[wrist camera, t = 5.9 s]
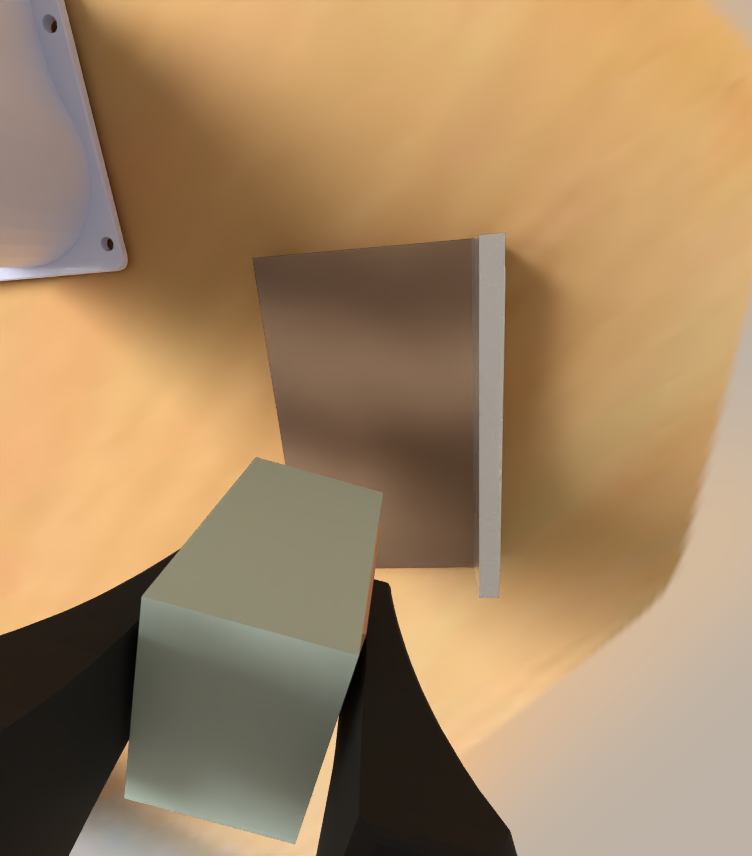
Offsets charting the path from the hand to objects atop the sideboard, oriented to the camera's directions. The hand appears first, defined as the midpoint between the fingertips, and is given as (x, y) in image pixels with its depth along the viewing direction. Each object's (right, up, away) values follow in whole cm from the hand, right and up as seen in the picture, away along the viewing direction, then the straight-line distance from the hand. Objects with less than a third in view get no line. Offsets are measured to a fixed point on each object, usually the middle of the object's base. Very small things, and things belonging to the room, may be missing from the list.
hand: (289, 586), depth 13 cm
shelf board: (+3, +5, +7) cm, 9 cm away
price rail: (+7, +5, +5) cm, 10 cm away
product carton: (0, 0, +2) cm, 2 cm away
